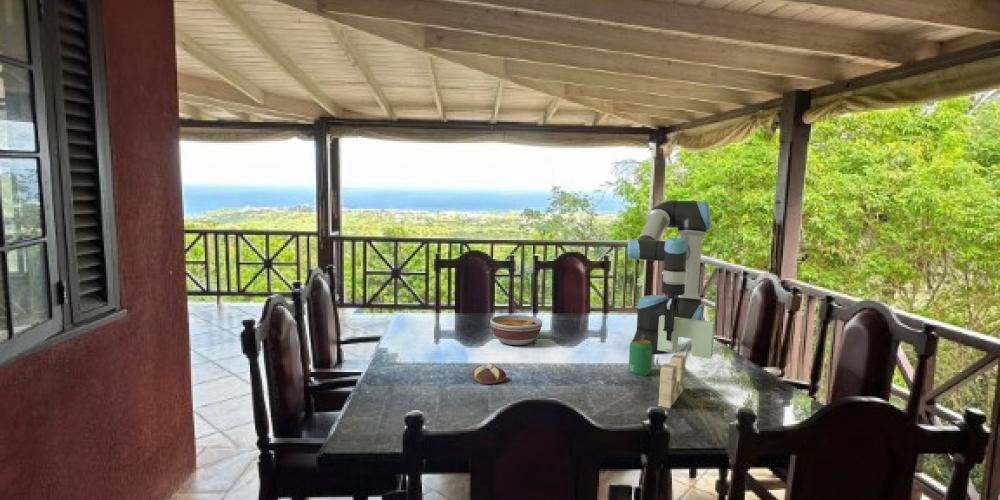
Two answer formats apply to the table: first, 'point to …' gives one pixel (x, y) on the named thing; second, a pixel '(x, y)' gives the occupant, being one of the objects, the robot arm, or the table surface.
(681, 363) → the wooden block structure
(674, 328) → the pale green rectangular block
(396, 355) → the table surface
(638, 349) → the beverage can
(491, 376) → the bread
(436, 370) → the table surface
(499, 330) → the bowl
